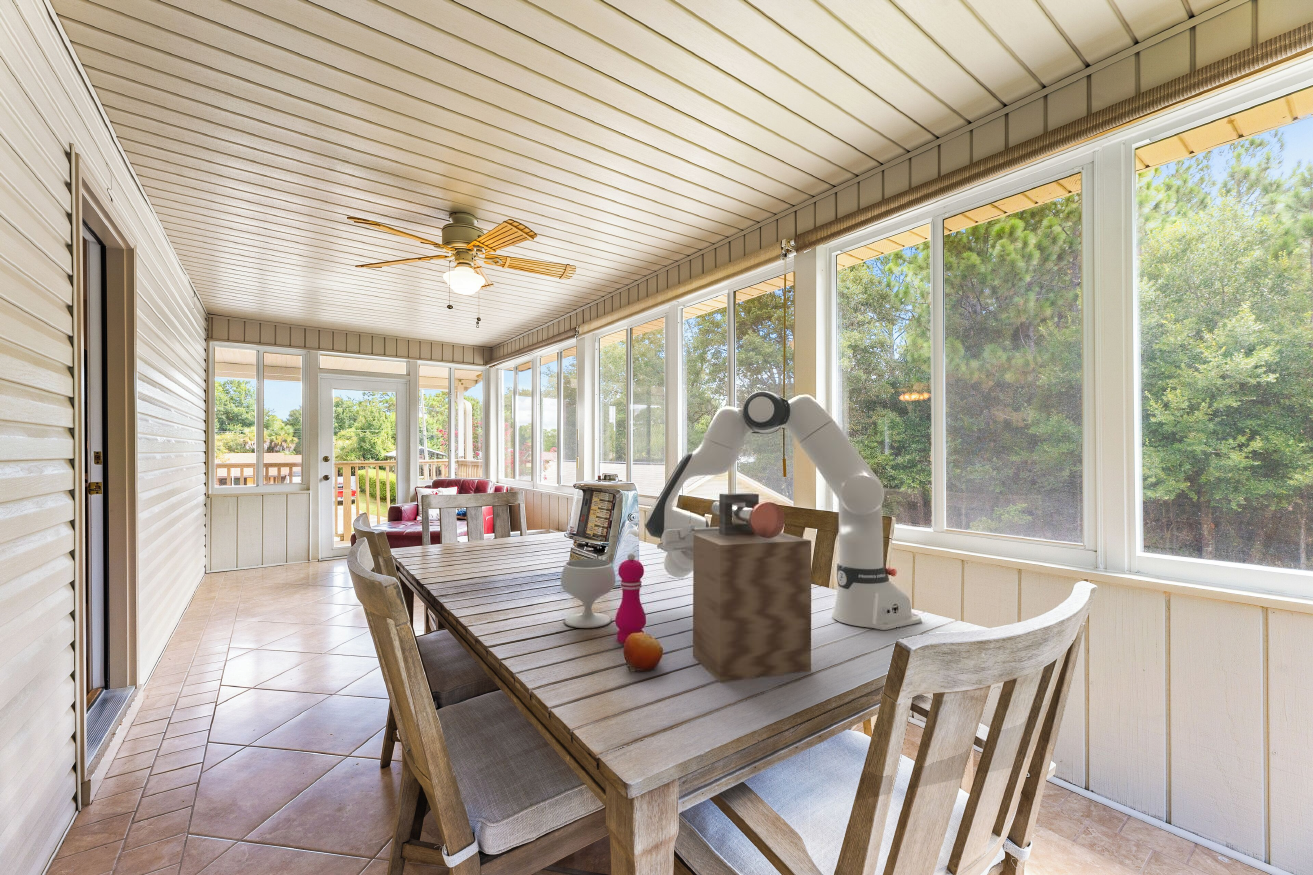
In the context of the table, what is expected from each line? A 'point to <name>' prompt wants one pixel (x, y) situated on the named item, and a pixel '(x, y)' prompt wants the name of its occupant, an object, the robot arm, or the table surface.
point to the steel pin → (759, 517)
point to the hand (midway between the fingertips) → (710, 526)
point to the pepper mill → (630, 599)
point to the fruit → (642, 652)
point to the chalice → (588, 589)
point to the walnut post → (750, 599)
